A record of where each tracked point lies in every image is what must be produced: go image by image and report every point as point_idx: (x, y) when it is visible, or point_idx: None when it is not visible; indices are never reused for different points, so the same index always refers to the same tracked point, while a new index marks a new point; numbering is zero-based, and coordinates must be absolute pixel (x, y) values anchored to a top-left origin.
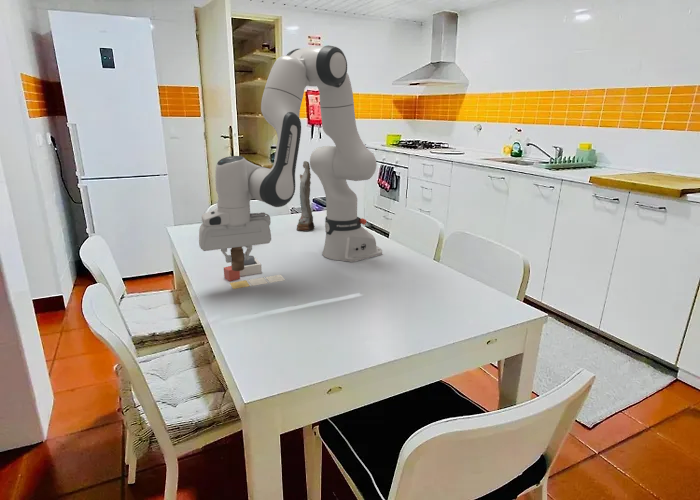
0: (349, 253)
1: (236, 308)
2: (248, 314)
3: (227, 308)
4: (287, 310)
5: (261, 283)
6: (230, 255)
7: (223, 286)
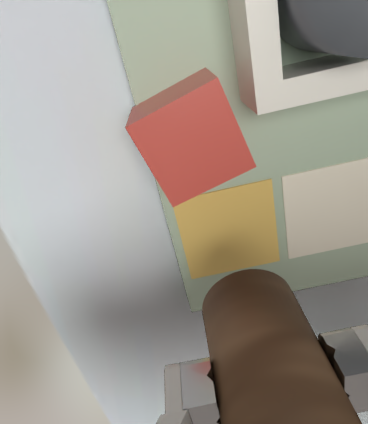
0: None
1: None
2: None
3: None
4: None
5: (344, 239)
6: (217, 410)
7: (134, 186)
